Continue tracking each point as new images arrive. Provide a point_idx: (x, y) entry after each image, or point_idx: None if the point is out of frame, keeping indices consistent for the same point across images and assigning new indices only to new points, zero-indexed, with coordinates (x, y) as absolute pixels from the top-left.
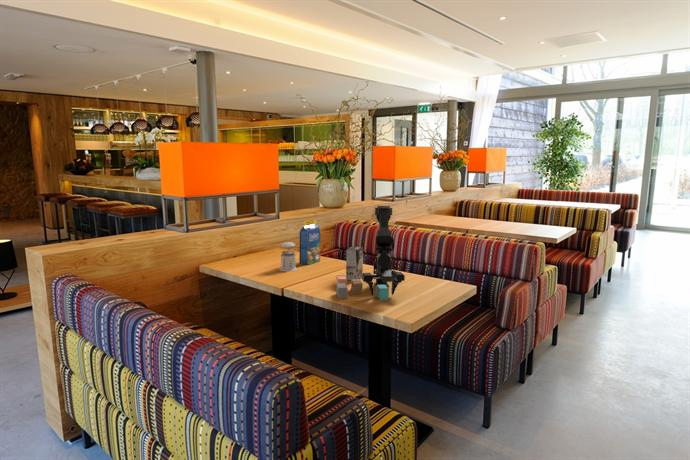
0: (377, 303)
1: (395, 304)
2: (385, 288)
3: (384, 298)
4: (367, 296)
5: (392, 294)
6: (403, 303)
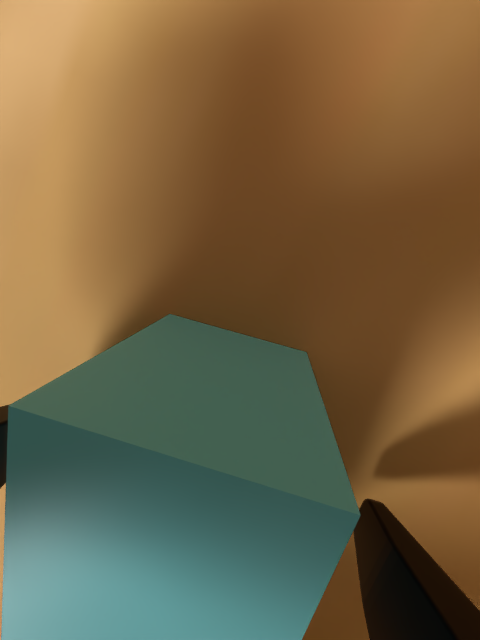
0: (454, 206)
1: (164, 26)
2: (104, 521)
3: (230, 339)
4: None
5: None
6: (9, 37)
